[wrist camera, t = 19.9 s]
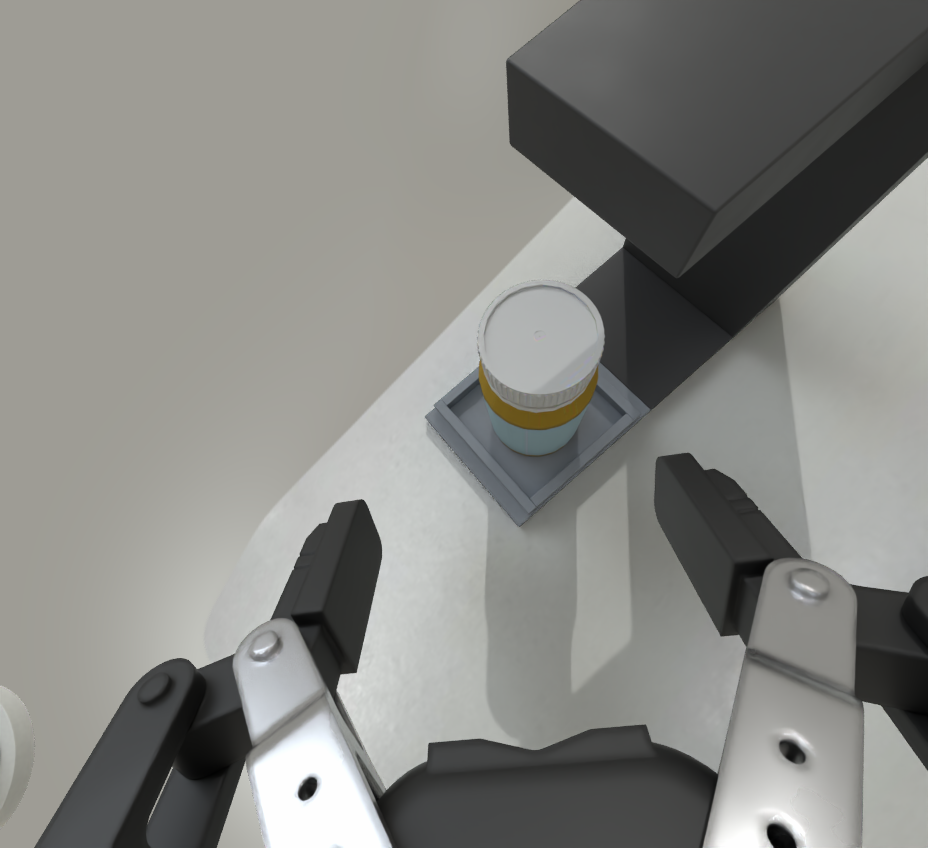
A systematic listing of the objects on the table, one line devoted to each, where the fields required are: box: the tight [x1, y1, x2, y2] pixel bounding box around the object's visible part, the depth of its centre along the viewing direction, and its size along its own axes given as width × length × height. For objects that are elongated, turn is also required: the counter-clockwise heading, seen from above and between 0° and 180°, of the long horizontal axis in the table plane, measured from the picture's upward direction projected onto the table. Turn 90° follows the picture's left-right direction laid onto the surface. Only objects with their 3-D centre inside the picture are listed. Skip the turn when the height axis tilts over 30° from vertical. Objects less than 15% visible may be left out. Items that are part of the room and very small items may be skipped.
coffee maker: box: [425, 0, 928, 527], centre depth 24 cm, size 29×12×26 cm, turn 130°
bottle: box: [477, 280, 605, 456], centre depth 28 cm, size 7×7×15 cm
